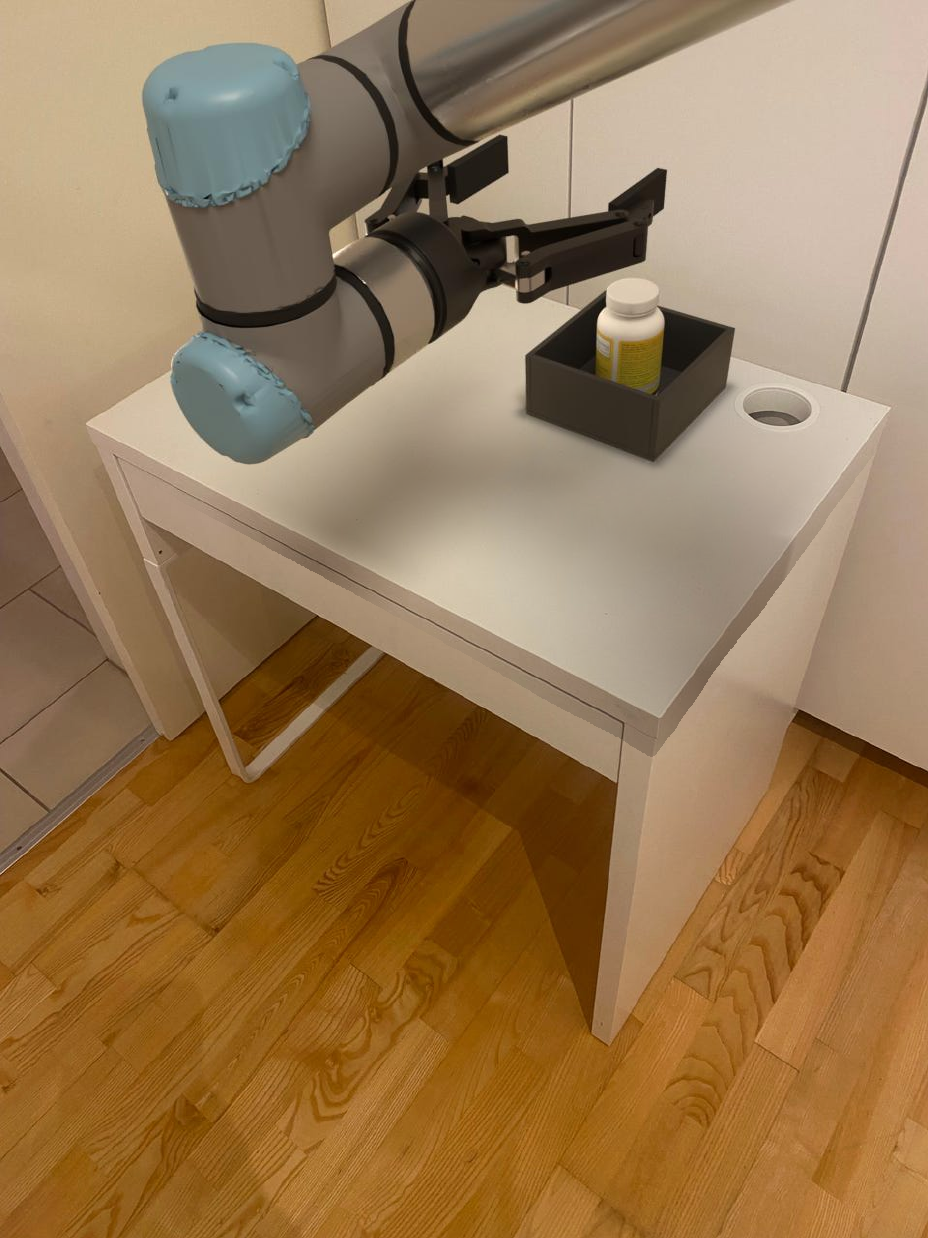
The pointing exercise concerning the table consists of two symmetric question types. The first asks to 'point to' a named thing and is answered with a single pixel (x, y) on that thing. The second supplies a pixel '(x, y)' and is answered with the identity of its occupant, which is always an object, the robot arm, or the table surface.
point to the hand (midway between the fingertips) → (579, 169)
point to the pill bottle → (631, 335)
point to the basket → (617, 411)
